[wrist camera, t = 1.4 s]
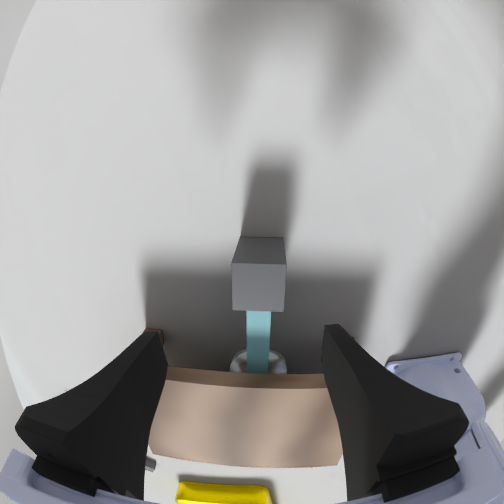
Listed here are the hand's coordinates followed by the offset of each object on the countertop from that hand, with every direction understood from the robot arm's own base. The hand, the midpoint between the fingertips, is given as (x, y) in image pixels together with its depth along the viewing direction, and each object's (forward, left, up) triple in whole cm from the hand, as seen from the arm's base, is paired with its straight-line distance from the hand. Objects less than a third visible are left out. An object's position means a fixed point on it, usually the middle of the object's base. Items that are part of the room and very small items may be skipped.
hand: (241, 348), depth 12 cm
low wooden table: (+1, +13, -10) cm, 16 cm away
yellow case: (+4, +45, -11) cm, 47 cm away
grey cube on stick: (0, +6, -10) cm, 12 cm away
